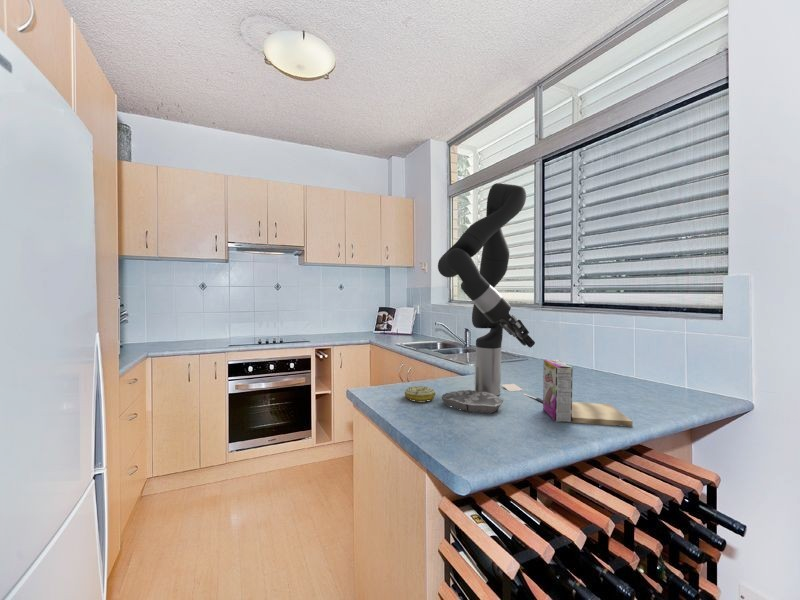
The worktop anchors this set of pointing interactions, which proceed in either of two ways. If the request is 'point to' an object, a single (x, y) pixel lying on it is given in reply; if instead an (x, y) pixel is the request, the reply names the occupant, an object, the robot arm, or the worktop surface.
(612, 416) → the bamboo board
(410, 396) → the decorated donut
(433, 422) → the worktop surface
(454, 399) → the flat grey stone
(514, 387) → the spatula
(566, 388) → the candy bar box
